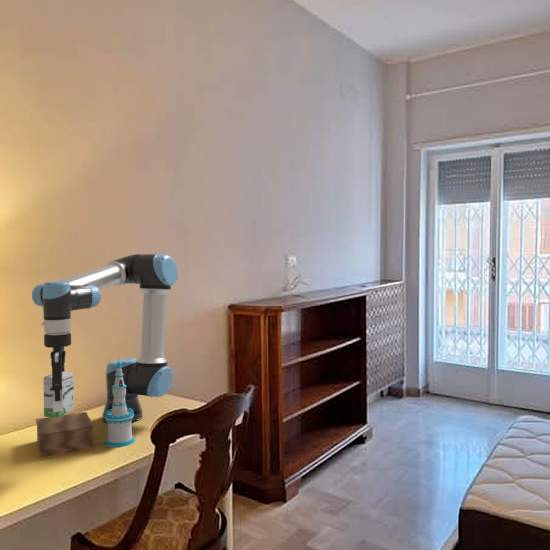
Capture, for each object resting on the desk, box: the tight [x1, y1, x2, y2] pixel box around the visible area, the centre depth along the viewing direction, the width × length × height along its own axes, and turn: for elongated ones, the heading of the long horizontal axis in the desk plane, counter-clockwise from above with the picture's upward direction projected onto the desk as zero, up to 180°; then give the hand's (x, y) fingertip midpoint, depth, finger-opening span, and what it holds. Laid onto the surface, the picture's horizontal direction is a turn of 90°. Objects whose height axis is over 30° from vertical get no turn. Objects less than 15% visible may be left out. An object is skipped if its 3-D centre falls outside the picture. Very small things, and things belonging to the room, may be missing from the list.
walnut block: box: [35, 411, 95, 458], centre depth 176 cm, size 17×17×8 cm
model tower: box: [104, 356, 136, 448], centre depth 178 cm, size 10×10×30 cm
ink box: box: [43, 371, 75, 418], centre depth 156 cm, size 9×5×12 cm, turn 168°
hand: (59, 406), depth 156 cm, fingers closed on ink box, 9 cm apart
